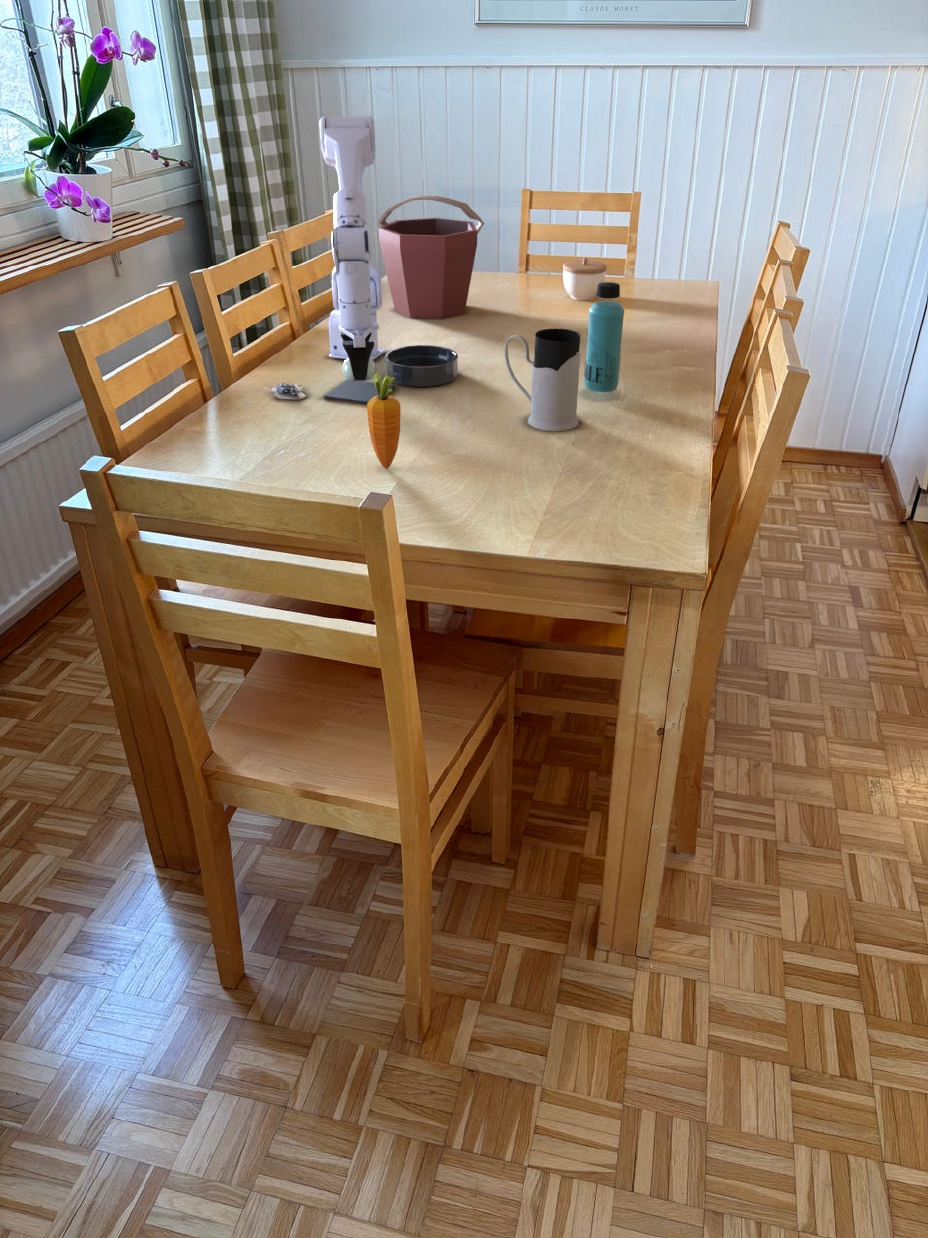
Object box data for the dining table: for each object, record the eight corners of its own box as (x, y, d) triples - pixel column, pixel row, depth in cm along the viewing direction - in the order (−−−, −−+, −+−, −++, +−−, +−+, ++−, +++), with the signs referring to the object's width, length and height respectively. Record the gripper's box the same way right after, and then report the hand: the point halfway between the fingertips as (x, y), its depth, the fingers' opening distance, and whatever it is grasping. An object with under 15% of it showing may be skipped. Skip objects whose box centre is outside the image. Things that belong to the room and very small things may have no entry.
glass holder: (564, 434, 157) (569, 345, 149) (491, 418, 163) (492, 331, 155) (587, 418, 163) (593, 332, 155) (515, 403, 169) (518, 319, 161)
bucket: (498, 306, 226) (500, 194, 212) (447, 328, 210) (446, 208, 197) (414, 293, 237) (411, 185, 223) (361, 313, 221) (354, 198, 208)
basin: (374, 383, 179) (372, 362, 177) (403, 361, 190) (402, 342, 188) (442, 391, 175) (441, 370, 173) (468, 369, 186) (468, 349, 184)
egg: (343, 385, 171) (341, 361, 168) (342, 377, 174) (340, 354, 172) (377, 383, 171) (376, 359, 169) (375, 376, 175) (374, 352, 173)
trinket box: (562, 291, 239) (564, 252, 234) (604, 292, 238) (607, 253, 233) (560, 301, 230) (562, 261, 225) (604, 303, 229) (607, 263, 224)
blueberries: (292, 384, 178) (291, 374, 177) (317, 394, 173) (317, 384, 172) (262, 392, 174) (261, 382, 173) (287, 403, 169) (286, 393, 168)
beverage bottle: (620, 390, 175) (631, 280, 165) (613, 402, 170) (624, 288, 159) (586, 386, 177) (594, 277, 166) (578, 398, 172) (586, 285, 161)
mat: (323, 398, 172) (323, 395, 171) (348, 381, 180) (348, 379, 179) (373, 405, 169) (373, 402, 168) (395, 387, 177) (395, 385, 176)
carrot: (370, 462, 147) (365, 368, 139) (402, 461, 147) (398, 367, 139) (370, 475, 143) (365, 379, 135) (403, 474, 143) (399, 378, 135)
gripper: (381, 309, 159) (384, 386, 167) (373, 288, 172) (377, 362, 179) (339, 311, 158) (344, 389, 166) (335, 290, 171) (340, 364, 178)
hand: (359, 375), depth 172 cm, fingers closed on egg, 4 cm apart
